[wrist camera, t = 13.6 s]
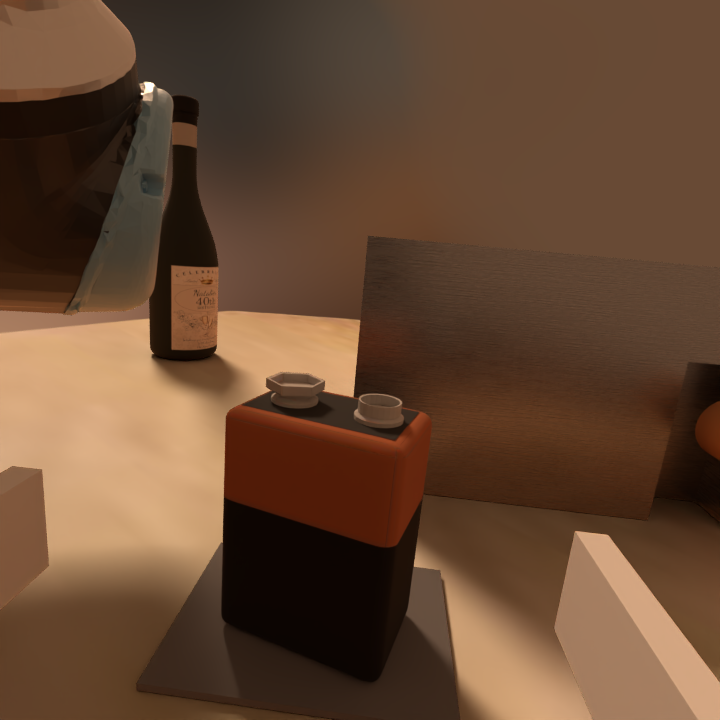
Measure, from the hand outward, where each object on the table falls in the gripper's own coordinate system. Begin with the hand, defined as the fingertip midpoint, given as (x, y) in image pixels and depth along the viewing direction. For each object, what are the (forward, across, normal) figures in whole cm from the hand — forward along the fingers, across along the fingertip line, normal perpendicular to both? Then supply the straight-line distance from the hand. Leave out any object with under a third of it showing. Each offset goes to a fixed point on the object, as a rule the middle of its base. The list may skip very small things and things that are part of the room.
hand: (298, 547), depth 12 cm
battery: (+6, 0, -8) cm, 10 cm away
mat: (+7, 0, -8) cm, 10 cm away
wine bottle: (+48, -24, -8) cm, 54 cm away
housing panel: (+20, +13, -8) cm, 25 cm away
